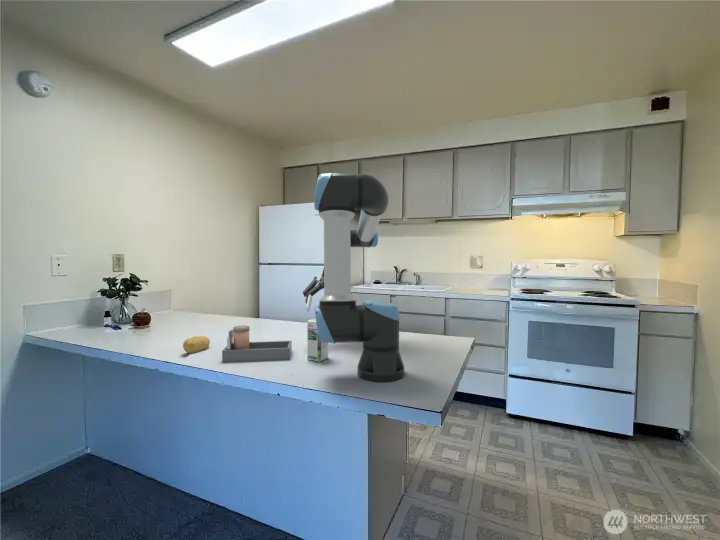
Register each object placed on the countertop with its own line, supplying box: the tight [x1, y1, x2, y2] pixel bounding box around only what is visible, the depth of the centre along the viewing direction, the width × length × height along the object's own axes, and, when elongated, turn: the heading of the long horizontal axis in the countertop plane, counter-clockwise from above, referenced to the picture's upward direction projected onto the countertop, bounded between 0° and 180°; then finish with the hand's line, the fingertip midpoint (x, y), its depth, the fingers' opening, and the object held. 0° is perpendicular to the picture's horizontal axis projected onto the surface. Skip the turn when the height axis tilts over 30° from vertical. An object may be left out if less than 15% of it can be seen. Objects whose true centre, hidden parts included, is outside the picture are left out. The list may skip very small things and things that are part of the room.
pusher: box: [226, 329, 234, 350], centre depth 123 cm, size 1×8×9 cm, turn 7°
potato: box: [182, 335, 211, 354], centre depth 133 cm, size 7×11×6 cm, turn 155°
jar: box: [232, 325, 251, 350], centre depth 123 cm, size 6×6×11 cm
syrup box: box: [306, 318, 329, 363], centre depth 124 cm, size 6×6×14 cm
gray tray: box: [221, 340, 293, 363], centre depth 124 cm, size 23×11×5 cm, turn 98°
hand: (324, 310), depth 134 cm, fingers open, 13 cm apart
